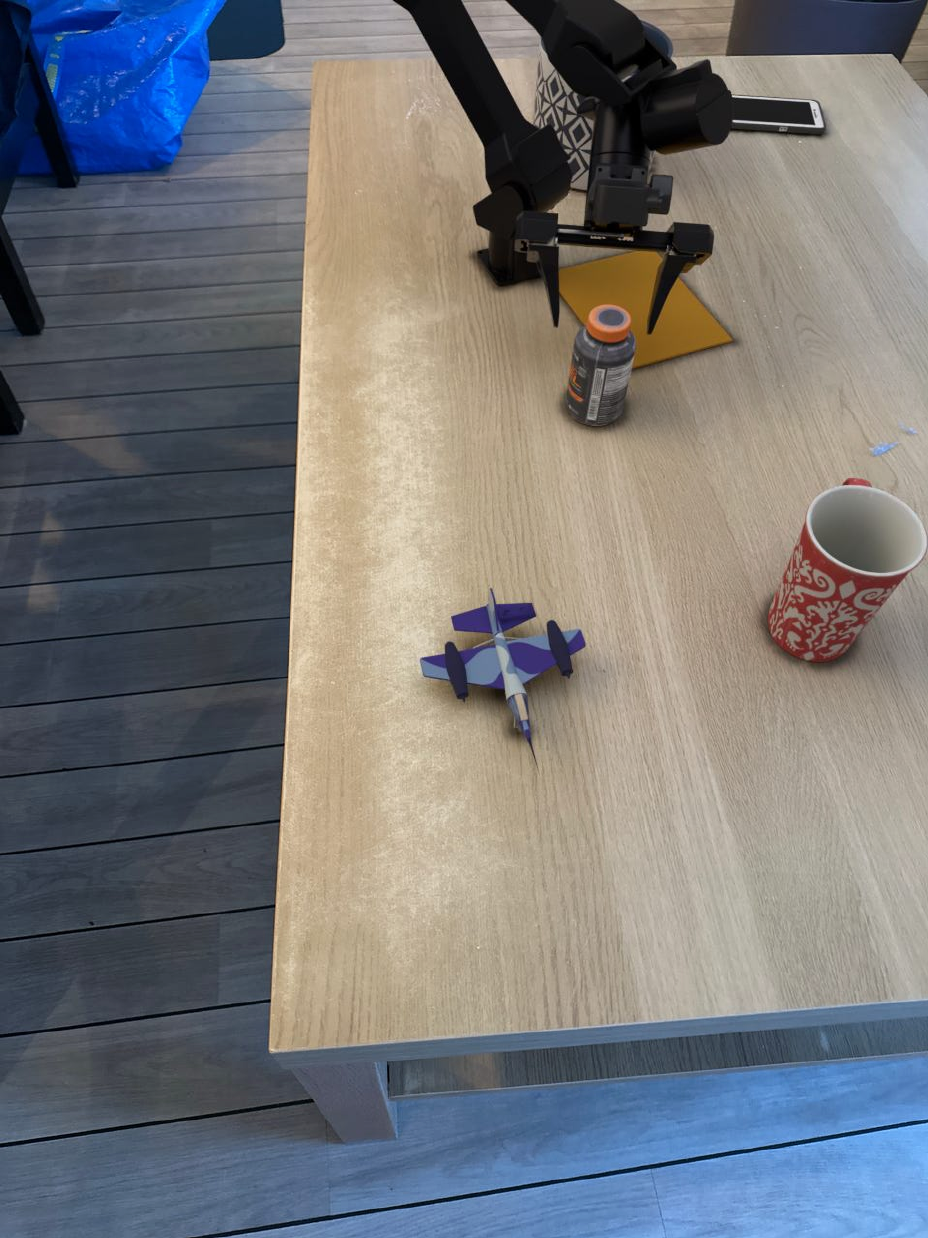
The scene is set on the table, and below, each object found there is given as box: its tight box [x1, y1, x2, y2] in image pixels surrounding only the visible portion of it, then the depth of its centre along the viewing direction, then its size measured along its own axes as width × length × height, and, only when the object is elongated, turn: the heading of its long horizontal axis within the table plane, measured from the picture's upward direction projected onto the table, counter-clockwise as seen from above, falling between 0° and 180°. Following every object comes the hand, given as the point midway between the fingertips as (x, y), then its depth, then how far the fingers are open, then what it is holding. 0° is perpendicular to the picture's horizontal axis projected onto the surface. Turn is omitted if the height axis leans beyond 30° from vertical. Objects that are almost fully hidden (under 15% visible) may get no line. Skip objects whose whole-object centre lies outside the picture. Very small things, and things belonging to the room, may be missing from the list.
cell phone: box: [731, 93, 827, 135], centre depth 132 cm, size 8×15×1 cm, turn 86°
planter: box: [532, 18, 675, 191], centre depth 119 cm, size 16×16×14 cm
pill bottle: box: [564, 305, 636, 427], centre depth 94 cm, size 6×6×11 cm
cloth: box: [559, 250, 733, 370], centre depth 108 cm, size 18×14×1 cm
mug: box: [767, 477, 928, 663], centre depth 79 cm, size 13×9×14 cm
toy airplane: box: [419, 587, 587, 776], centre depth 77 cm, size 13×14×4 cm
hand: (602, 330), depth 94 cm, fingers open, 9 cm apart
